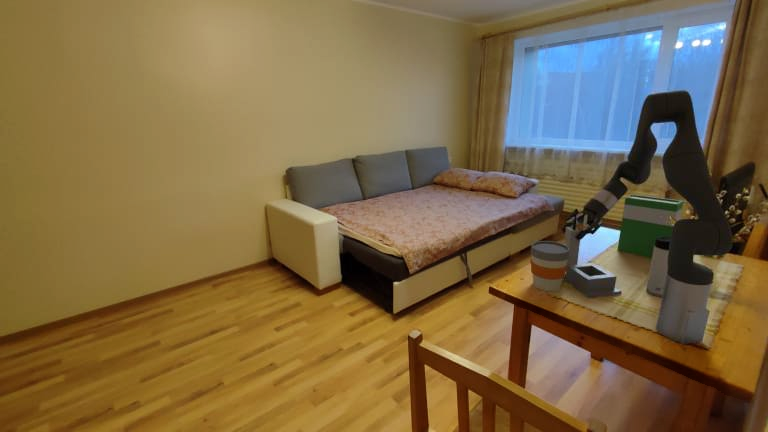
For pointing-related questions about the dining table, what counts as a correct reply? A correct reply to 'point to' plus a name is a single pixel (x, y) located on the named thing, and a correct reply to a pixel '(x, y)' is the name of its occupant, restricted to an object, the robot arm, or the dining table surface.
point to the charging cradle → (591, 280)
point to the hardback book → (646, 223)
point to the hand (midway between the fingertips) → (569, 235)
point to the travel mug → (658, 267)
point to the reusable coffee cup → (548, 264)
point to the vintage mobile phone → (572, 242)
